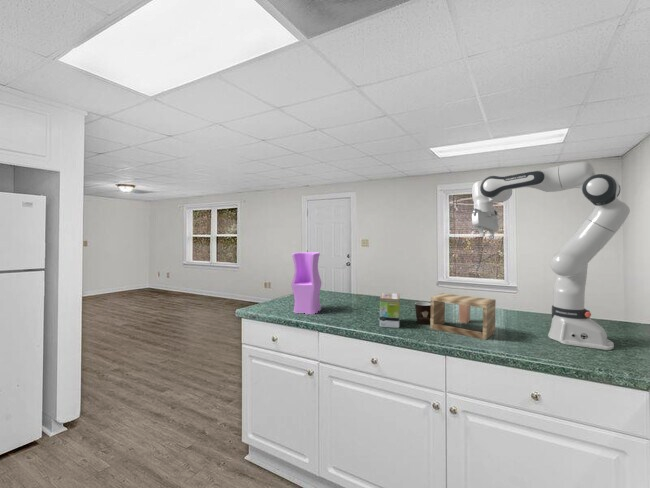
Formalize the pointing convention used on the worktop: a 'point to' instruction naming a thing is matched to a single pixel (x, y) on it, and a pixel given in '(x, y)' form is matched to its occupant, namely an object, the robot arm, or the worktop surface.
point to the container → (306, 282)
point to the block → (464, 313)
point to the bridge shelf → (486, 304)
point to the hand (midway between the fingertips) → (487, 237)
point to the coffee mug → (423, 312)
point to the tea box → (389, 310)
